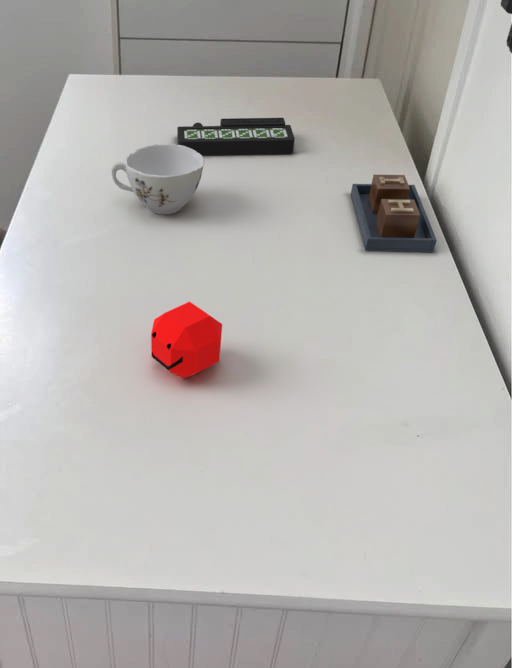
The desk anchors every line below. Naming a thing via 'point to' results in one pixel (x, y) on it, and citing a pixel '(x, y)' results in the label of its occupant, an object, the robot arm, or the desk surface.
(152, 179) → the teacup
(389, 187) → the tile
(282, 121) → the digital display
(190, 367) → the ball
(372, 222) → the word tray
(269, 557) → the desk surface
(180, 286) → the desk surface
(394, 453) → the desk surface
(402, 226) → the tile
